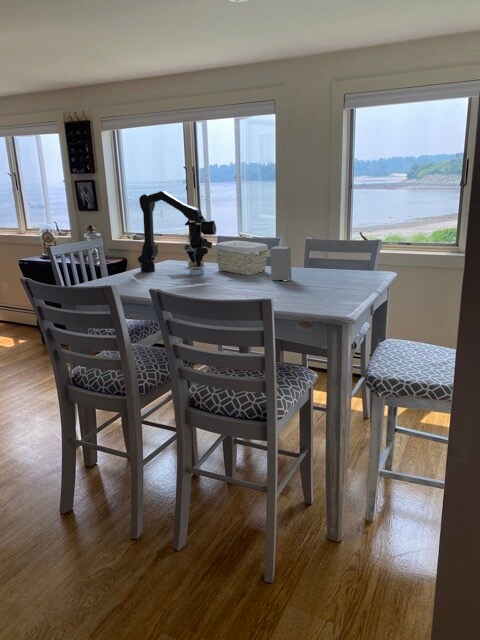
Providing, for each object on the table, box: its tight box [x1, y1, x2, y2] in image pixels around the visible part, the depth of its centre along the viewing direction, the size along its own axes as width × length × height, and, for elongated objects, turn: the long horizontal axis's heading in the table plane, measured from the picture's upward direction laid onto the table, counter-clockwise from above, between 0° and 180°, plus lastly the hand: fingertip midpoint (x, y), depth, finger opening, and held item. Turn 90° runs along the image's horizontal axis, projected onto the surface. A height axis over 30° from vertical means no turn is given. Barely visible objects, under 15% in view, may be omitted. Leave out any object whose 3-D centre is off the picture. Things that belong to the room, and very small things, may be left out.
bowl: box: [188, 267, 205, 276], centre depth 237 cm, size 7×7×4 cm
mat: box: [166, 273, 193, 280], centre depth 231 cm, size 10×10×1 cm
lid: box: [189, 262, 203, 268], centre depth 236 cm, size 7×7×2 cm
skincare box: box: [269, 245, 292, 280], centre depth 221 cm, size 8×7×16 cm
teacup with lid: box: [187, 255, 206, 269], centre depth 260 cm, size 12×9×12 cm
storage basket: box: [215, 240, 269, 276], centre depth 244 cm, size 24×16×15 cm
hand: (196, 265), depth 236 cm, fingers closed on lid, 7 cm apart
